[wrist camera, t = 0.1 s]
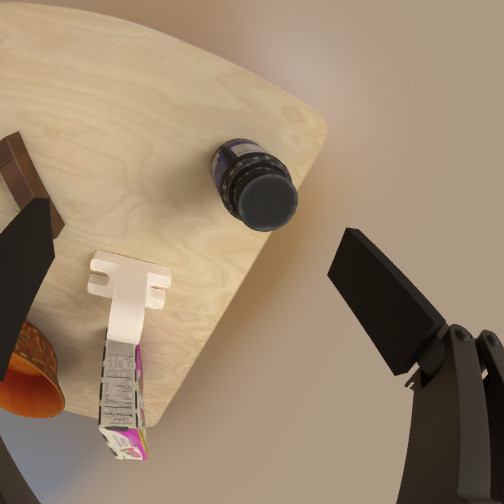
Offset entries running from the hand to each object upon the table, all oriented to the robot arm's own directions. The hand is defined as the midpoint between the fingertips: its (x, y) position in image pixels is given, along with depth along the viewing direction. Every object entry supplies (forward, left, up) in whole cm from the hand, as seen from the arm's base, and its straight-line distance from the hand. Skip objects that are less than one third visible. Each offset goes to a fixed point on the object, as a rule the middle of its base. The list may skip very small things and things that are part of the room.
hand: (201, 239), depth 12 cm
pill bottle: (+4, +4, -20) cm, 21 cm away
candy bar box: (+24, -21, -20) cm, 37 cm away
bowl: (+14, -38, -20) cm, 45 cm away
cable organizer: (+12, -12, -20) cm, 26 cm away
